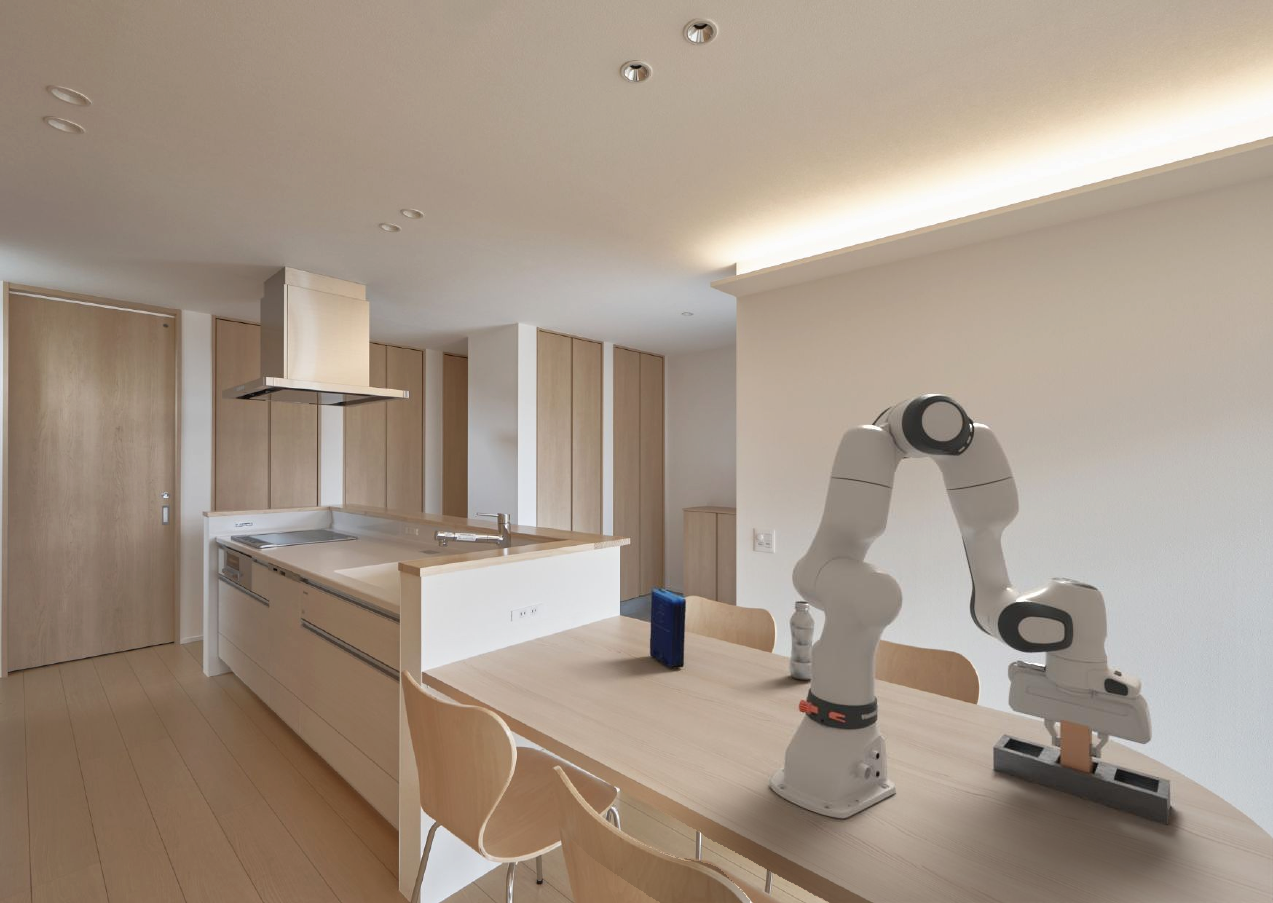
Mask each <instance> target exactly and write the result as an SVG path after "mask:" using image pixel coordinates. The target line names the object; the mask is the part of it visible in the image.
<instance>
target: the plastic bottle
mask: <svg viewBox="0 0 1273 903" xmlns="http://www.w3.org/2000/svg"><path fill="white" fill-rule="evenodd" d="M794 610H795V611H794V613H793V614H792V615H791V617H790V619H789V625H790V626H789V627H790V635H791V650H790V654H791V655H790V660H789V667H788V668H789V673H790V675H791V677H793V678H794V679H797V680H802V681H803V680H804V681H805V680H808V681H809V680H811V649H812V646H813V637H814V630H815V620H814V619H813V617H812V615H811V614H810V612H809V611H810V604H808V603H807V602H806V601H805V600H804V601H802V600H797V601H795V602H794Z"/></svg>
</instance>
